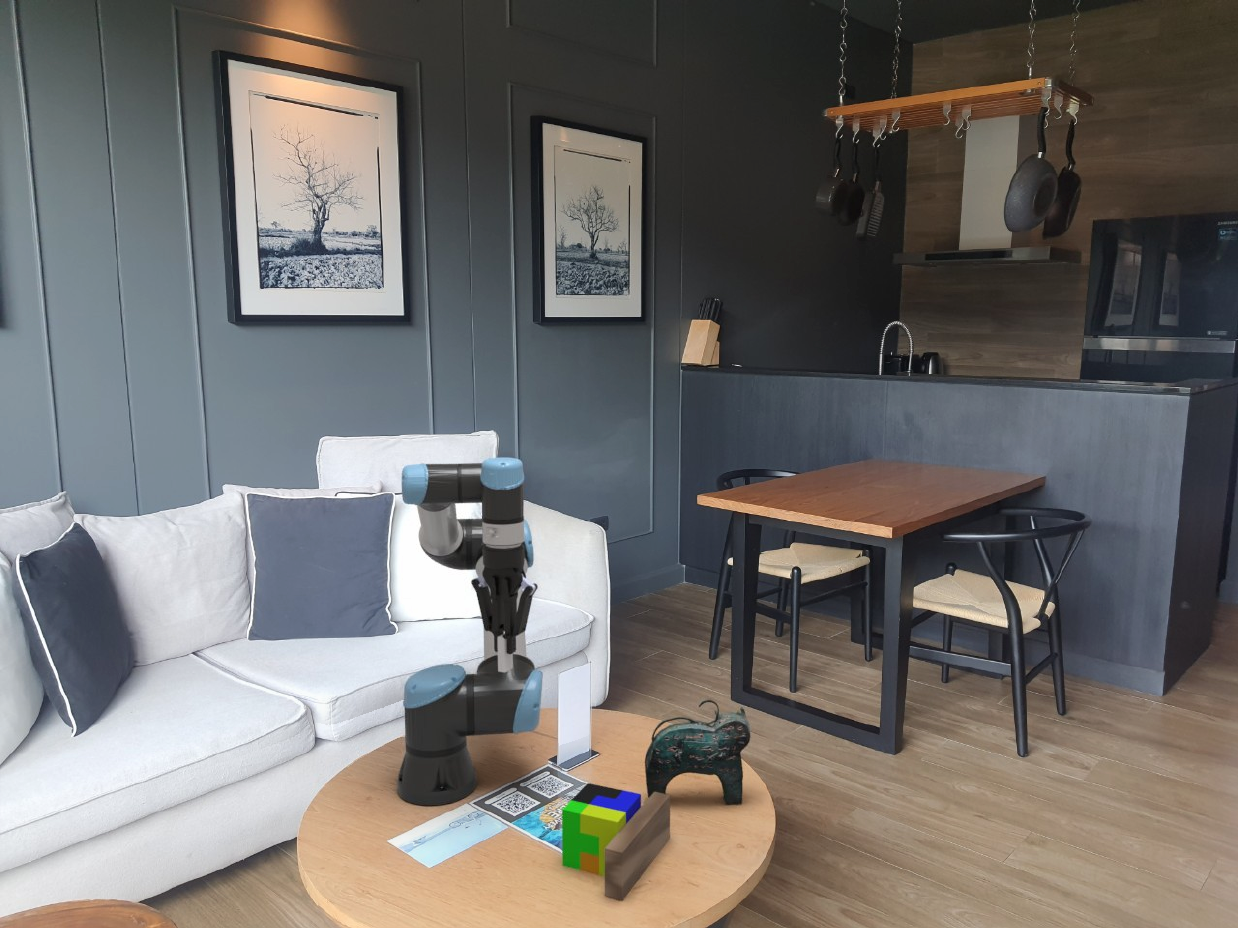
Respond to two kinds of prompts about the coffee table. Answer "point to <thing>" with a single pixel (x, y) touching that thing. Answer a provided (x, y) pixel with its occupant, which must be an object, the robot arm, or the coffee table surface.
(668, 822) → the walnut board
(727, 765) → the ceramic cat
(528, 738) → the coffee table surface
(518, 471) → the robot arm
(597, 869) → the puzzle toy
